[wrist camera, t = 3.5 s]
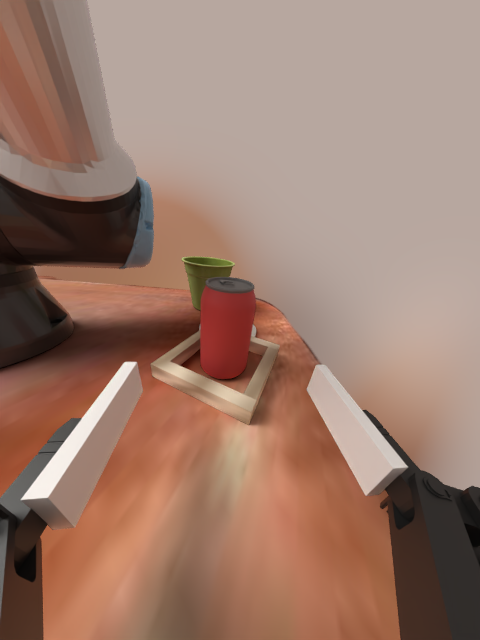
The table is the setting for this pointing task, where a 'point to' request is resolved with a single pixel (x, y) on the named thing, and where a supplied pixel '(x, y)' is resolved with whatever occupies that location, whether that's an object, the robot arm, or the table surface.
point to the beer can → (226, 326)
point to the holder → (210, 390)
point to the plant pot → (204, 274)
